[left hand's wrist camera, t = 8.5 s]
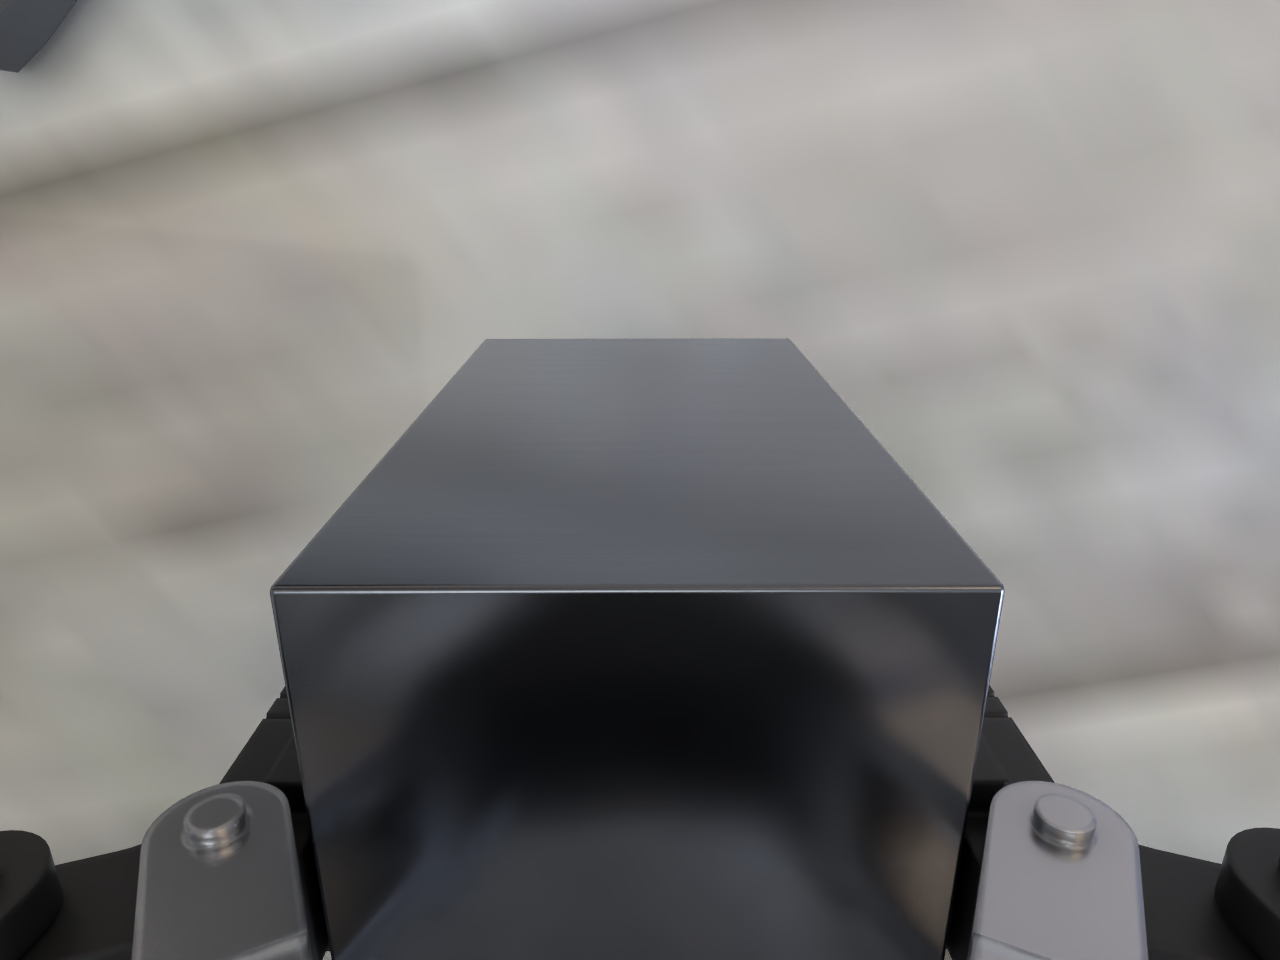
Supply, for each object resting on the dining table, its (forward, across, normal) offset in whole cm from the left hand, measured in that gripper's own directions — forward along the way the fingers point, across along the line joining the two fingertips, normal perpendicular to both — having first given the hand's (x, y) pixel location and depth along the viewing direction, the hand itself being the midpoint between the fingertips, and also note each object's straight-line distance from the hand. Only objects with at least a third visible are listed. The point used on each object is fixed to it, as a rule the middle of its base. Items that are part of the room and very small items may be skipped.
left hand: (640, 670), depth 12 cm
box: (+6, 0, -7) cm, 9 cm away
